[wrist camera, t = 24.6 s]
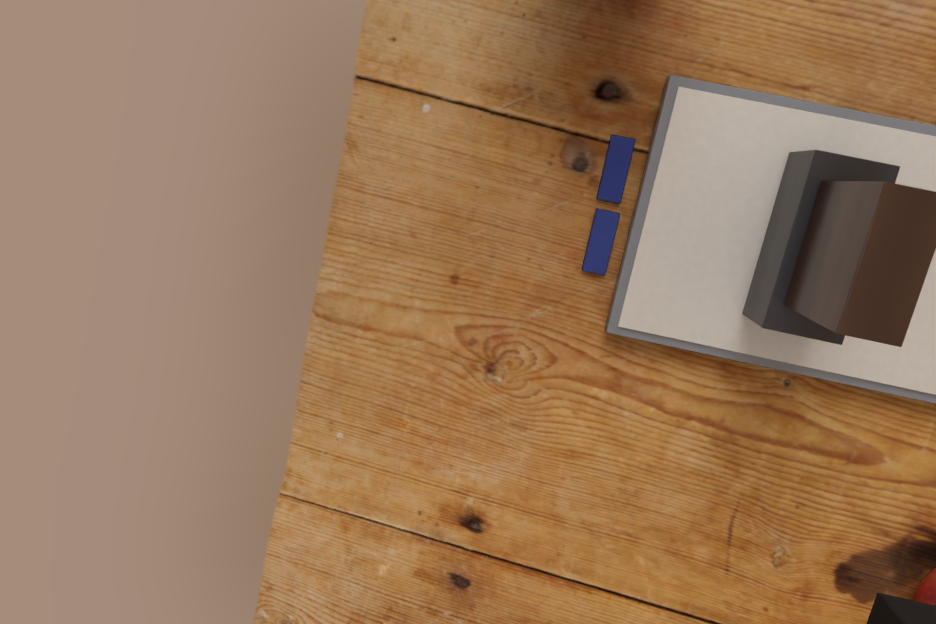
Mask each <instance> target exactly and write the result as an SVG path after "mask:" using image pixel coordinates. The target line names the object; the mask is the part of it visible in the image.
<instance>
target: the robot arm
mask: <svg viewBox="0 0 936 624" xmlns="http://www.w3.org/2000/svg"><path fill="white" fill-rule="evenodd" d="M867 624H936V605H932V604H927V603H922V602H918V601H913V600H909V599H904V598H900V597H895V596H891V595H886V594H881V593H877V596H876V599H875V602H874V604H873V607H872V610H871V613H870V616H869V618H868V621H867Z"/></svg>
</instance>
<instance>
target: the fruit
mask: <svg viewBox="0 0 936 624" xmlns="http://www.w3.org/2000/svg"><path fill="white" fill-rule="evenodd" d="M914 601H918V602H922V603H927V604H932V605H936V567H935V568H934V569H933V570H931V571H930V572H929V573H928V574H927V575H926V576H925V577H924V578H923V579H922V580H921V582H920V583H919V585H918V587H917V590H916V592H915V597H914Z"/></svg>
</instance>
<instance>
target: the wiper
mask: <svg viewBox="0 0 936 624" xmlns="http://www.w3.org/2000/svg"><path fill="white" fill-rule="evenodd" d="M899 170H900V166H896V165H891V164H886V163H881V162H876V161H871V160H866V159H861V158H856V157H851V156H846V155H841V154H836V153H831V152H826V151H821V150H807V151H796V152H790V153H789V155H788V159H787V162H786V166H785V169H784V172H783V176H782V179H781V183H780V186H779V190H778V193H777V196H776V200H775V203H774V207H773V210H772V213H771V217H770V220H769V224H768V227H767V231H766V234H765V237H764V241H763V244H762V248H761V251H760V254H759V258H758V261H757V265H756V268H755V272H754V275H753V278H752V282H751V285H750V289H749V292H748V295H747V299H746V302H745V306H744V309H743V312H742V314H743V315H744V316H746V317H747V318H749V319H750V320H752V321H753V322H754V323H756V324H757V325H759V326H760V327H762V328H764V329H769V330H774V331H778V332H783V333H788V334H792V335H797V336H802V337H806V338H811V339H816V340H820V341H825V342H830V343H834V344H839V345H842V344H843V341H844V338H845V335H846V336H851V337H855V338H860V339H865V340H869V341H874V342H879V343H883V344H888V345H893V346H897V347H902V344H903V342H904V339H905V336H906V333H907V330H908V327H909V324H910V321H911V318H912V316H913V313H914V310H915V307H916V304H917V301H918V298H919V295H920V293H921V290H922V287H923V284H924V281H925V278H926V275H927V272H928V269H929V267H930V264H931V261H932V258H933V255H934V252H935V249H936V192H935V191H930V190H925V189H920V188H915V187H910V186H905V185H900V184H895V182H896V179H897V176H898V173H899Z"/></svg>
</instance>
